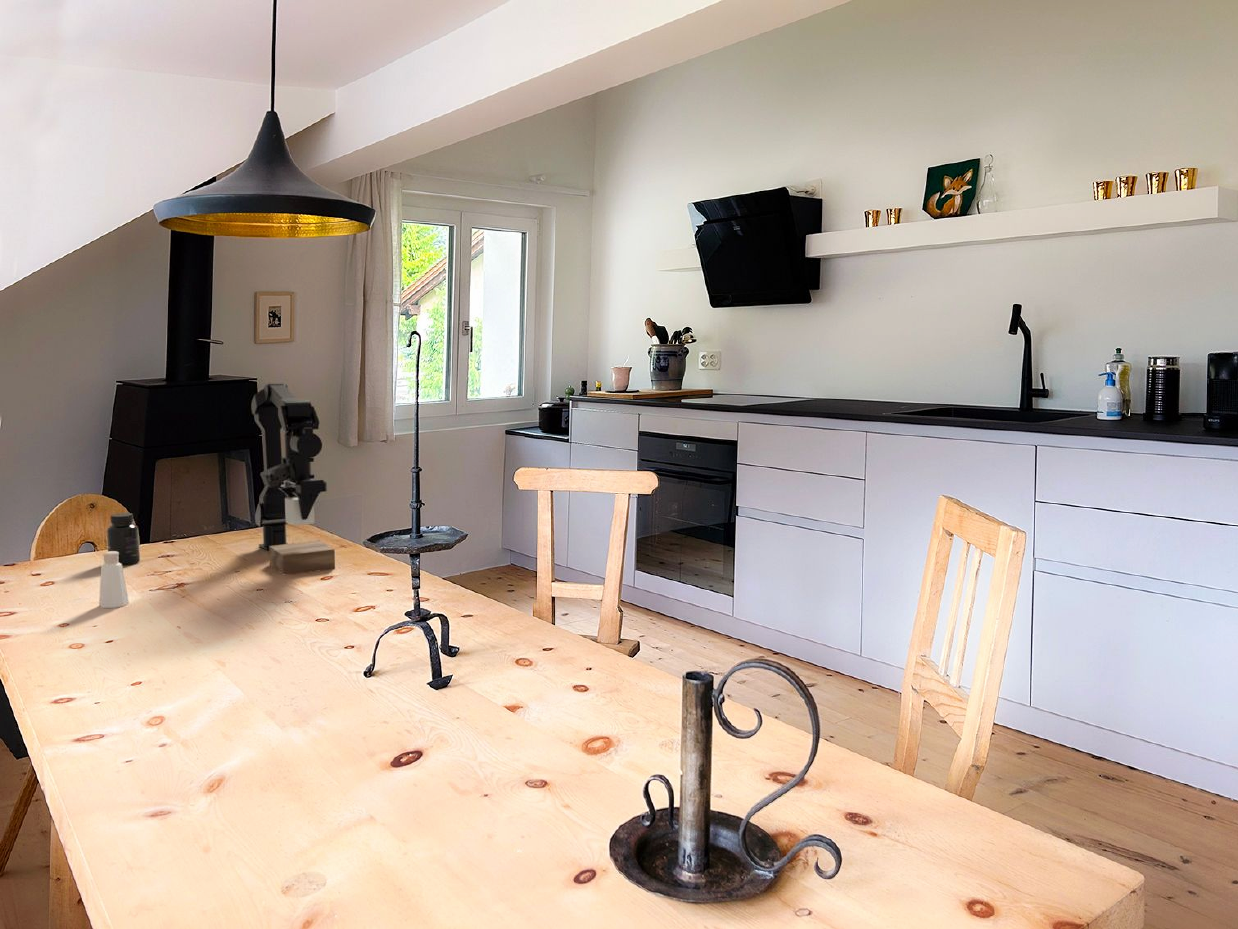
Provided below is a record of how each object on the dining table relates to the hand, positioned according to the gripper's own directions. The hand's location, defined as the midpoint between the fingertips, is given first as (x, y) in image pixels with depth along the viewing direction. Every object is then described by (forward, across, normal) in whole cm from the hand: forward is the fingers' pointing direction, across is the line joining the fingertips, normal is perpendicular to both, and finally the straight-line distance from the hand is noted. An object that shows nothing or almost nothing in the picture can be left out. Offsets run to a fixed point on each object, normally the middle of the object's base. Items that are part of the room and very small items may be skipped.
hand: (300, 517), depth 227 cm
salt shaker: (+12, +8, -43) cm, 45 cm away
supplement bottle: (+12, -30, -32) cm, 45 cm away
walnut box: (+12, 0, 0) cm, 12 cm away
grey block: (+1, 0, 0) cm, 1 cm away
